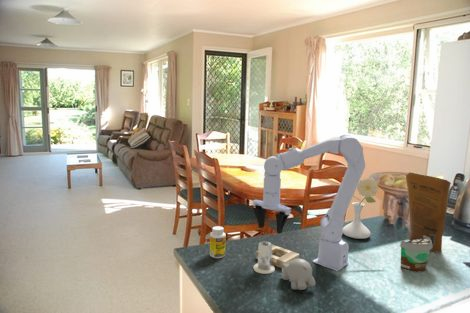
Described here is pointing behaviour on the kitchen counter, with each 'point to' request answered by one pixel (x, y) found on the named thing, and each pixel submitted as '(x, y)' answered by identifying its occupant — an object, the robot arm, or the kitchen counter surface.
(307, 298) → the kitchen counter surface
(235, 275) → the kitchen counter surface
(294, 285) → the round bodied animal figurine
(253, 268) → the coaster
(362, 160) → the robot arm
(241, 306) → the kitchen counter surface
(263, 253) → the end plug
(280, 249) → the beige flat block
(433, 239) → the pancake mix bag
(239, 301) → the kitchen counter surface
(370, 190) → the flower in vase
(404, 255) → the food container
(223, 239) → the supplement bottle
